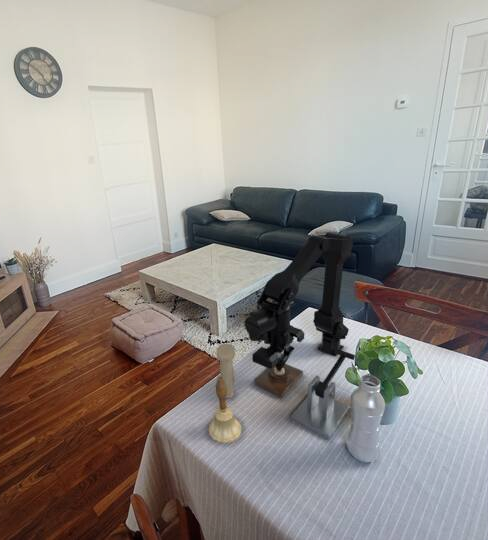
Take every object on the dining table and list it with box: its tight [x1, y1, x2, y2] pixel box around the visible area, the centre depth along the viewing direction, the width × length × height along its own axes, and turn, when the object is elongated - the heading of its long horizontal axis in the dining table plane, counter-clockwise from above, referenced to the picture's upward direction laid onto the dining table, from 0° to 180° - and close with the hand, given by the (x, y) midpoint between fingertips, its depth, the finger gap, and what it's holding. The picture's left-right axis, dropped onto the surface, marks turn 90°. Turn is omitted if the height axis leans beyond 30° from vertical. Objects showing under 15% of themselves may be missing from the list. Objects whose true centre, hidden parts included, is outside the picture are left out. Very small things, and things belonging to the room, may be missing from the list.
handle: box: [216, 343, 236, 399], centre depth 93 cm, size 5×6×15 cm
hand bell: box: [208, 376, 243, 444], centre depth 82 cm, size 8×8×16 cm
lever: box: [315, 349, 356, 399], centre depth 87 cm, size 16×5×2 cm, turn 136°
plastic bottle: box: [346, 374, 386, 463], centre depth 71 cm, size 6×7×20 cm
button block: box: [254, 363, 304, 399], centre depth 99 cm, size 12×9×4 cm
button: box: [274, 367, 285, 375], centre depth 98 cm, size 3×3×2 cm
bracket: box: [290, 375, 350, 440], centre depth 84 cm, size 12×10×10 cm
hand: (279, 370), depth 98 cm, fingers closed, pressing on button
